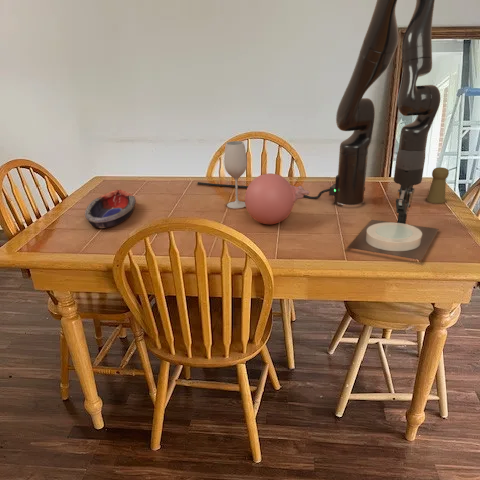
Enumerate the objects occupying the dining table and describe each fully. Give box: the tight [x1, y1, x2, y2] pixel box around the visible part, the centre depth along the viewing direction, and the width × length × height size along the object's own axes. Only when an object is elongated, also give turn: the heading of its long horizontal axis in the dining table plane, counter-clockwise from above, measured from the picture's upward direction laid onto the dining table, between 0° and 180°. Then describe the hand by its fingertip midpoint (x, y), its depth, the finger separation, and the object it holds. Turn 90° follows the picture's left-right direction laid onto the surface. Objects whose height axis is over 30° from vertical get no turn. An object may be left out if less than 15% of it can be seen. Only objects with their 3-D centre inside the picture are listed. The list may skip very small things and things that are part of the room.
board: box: [347, 219, 439, 261], centre depth 142 cm, size 20×24×1 cm
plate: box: [366, 221, 422, 251], centre depth 140 cm, size 15×15×3 cm
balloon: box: [244, 173, 311, 225], centre depth 154 cm, size 15×20×15 cm
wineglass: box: [223, 140, 248, 210], centre depth 169 cm, size 8×8×21 cm
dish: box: [84, 189, 136, 229], centre depth 168 cm, size 16×31×5 cm, turn 177°
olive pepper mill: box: [426, 167, 450, 204], centre depth 168 cm, size 6×6×11 cm
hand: (401, 224), depth 146 cm, fingers closed
